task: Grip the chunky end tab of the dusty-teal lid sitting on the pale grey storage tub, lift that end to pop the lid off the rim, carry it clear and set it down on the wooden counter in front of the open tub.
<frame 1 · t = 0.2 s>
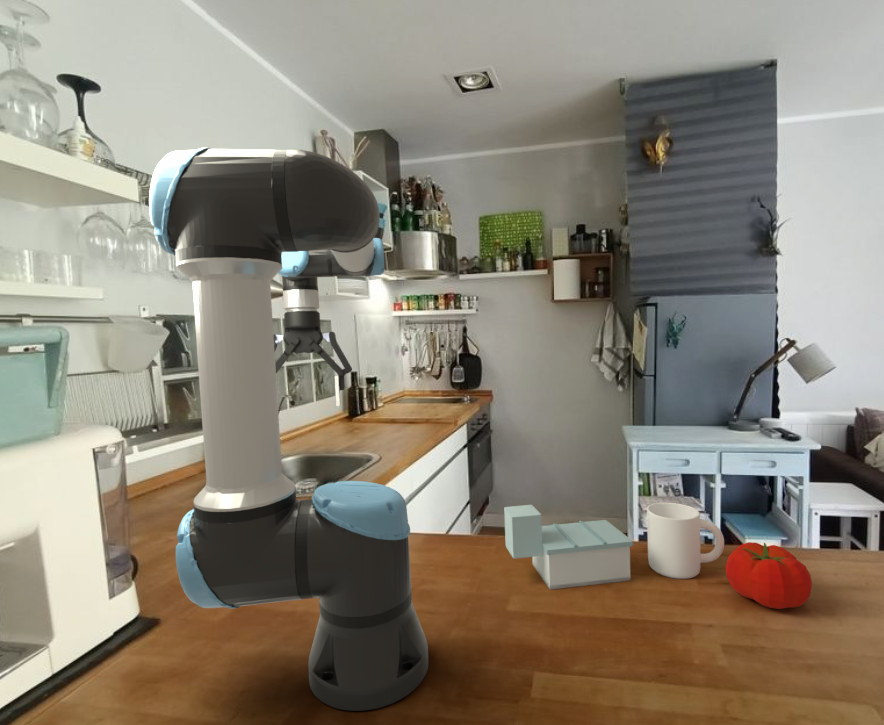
hand: (307, 407, 108), 28 cm above the worktop, fingers open, 13 cm apart
lid: (578, 545, 85), point 5 cm above the worktop, touching tub
tub: (579, 572, 85), on the worktop
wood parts: (587, 559, 85), in the tub, point 2 cm above the worktop
mug: (685, 570, 85), on the worktop
tomato: (767, 600, 74), on the worktop
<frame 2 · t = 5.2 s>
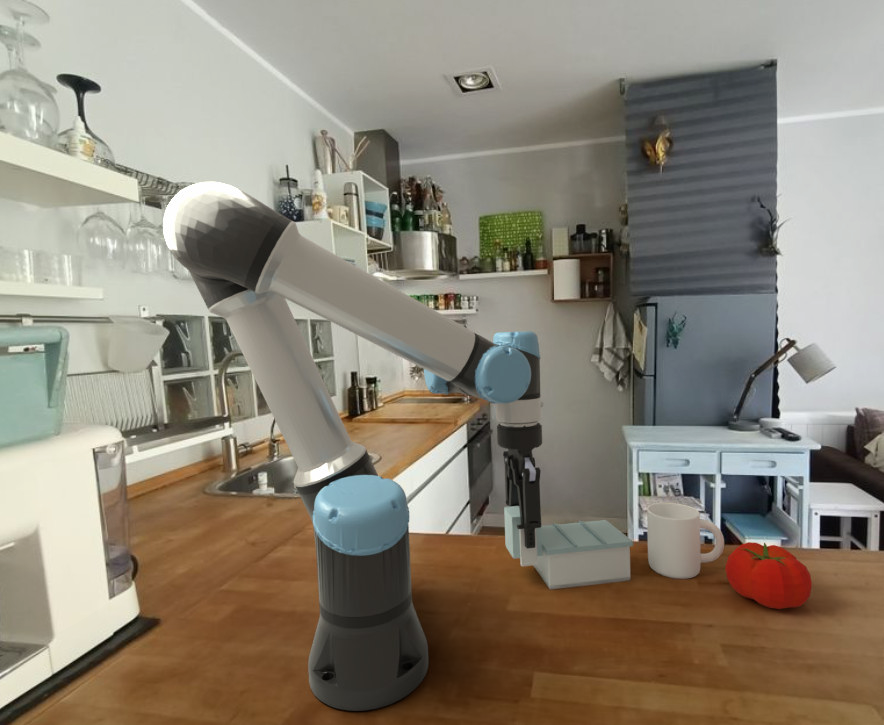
hand: (523, 556, 84), 4 cm above the worktop, fingers closed on lid, 5 cm apart
lid: (578, 545, 85), point 5 cm above the worktop, touching gripper, tub
everything else where it was.
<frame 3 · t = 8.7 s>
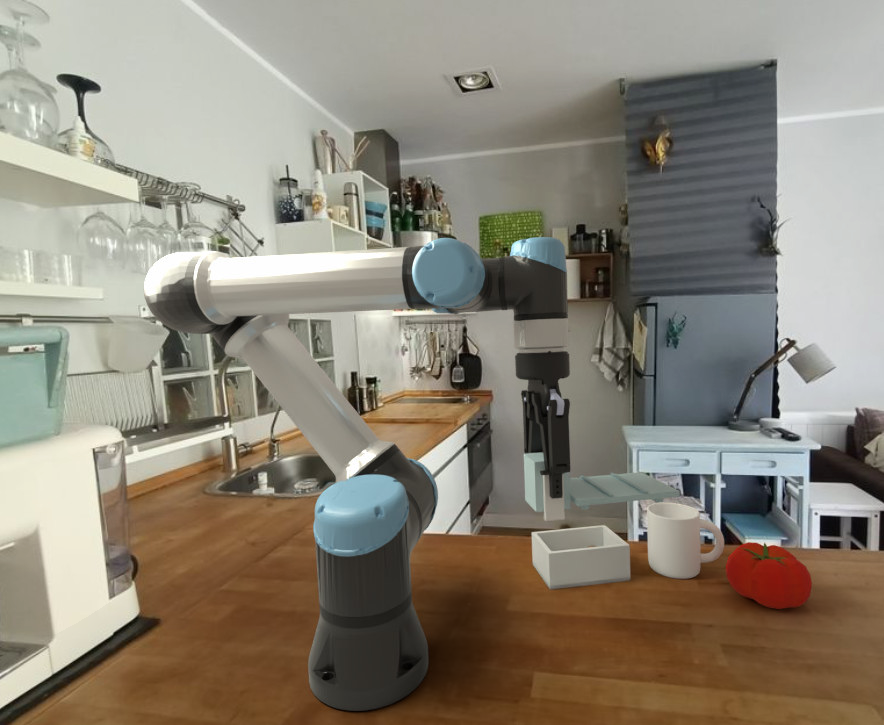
hand: (547, 511, 70), 16 cm above the worktop, fingers closed on lid, 5 cm apart
lid: (612, 498, 71), point 17 cm above the worktop, touching gripper
everything else where it was.
when the fingers open (1 cm above the worktop, at t = 12.0 s): lid drops 2 cm, on the worktop.
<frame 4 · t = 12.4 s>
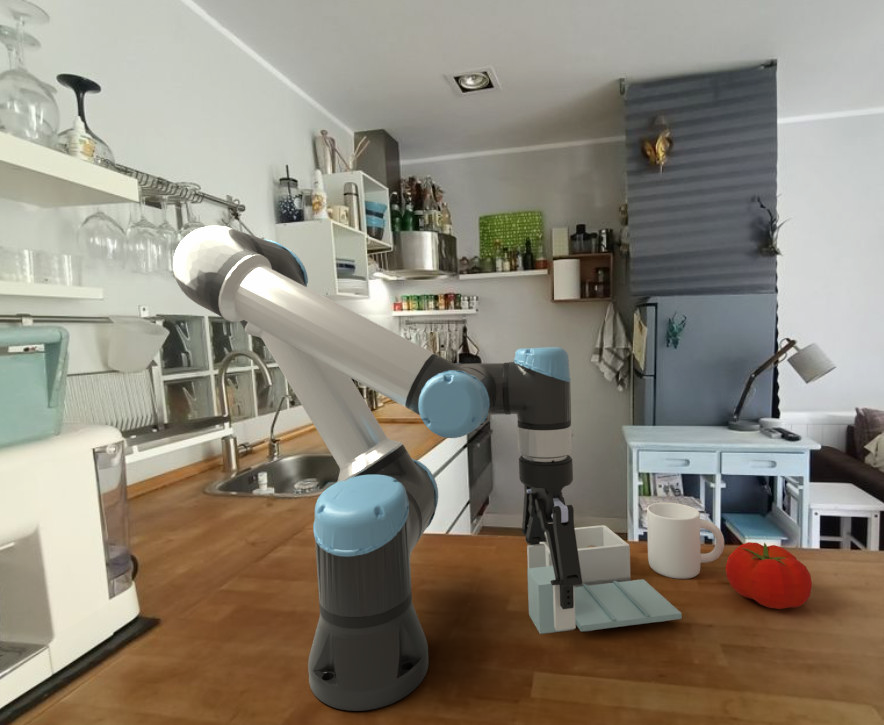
hand: (550, 605, 71), 2 cm above the worktop, fingers open, 10 cm apart
lid: (615, 613, 72), on the worktop
everything else where it was.
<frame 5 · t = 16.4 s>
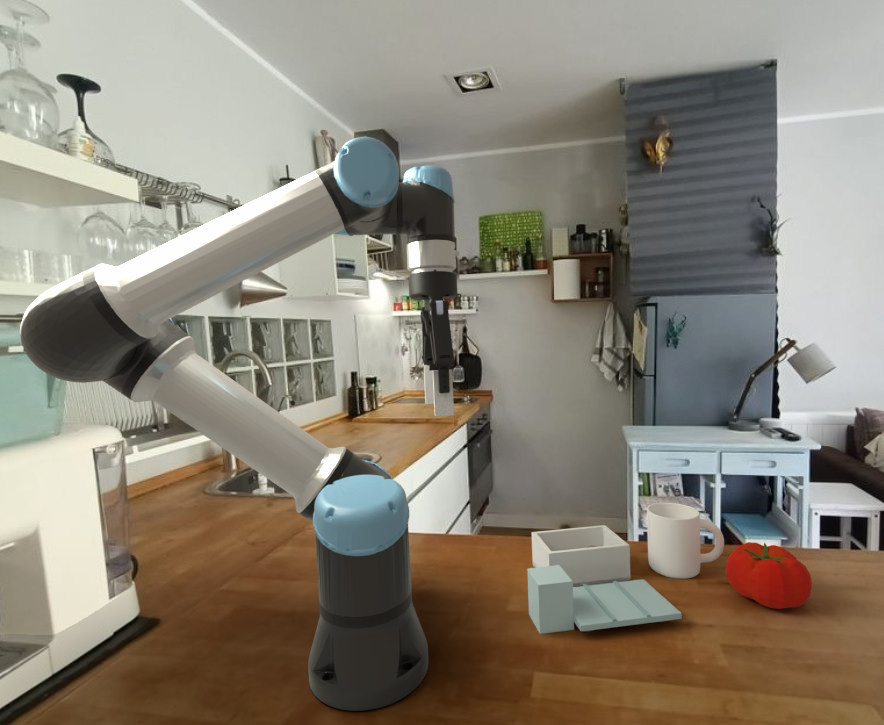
hand: (438, 409, 77), 31 cm above the worktop, fingers open, 13 cm apart
nothing on the worktop moved.
at the end: lid inside the target area (0.1 cm from its centre), on the worktop; lid tilted 0°; lid touching worktop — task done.
